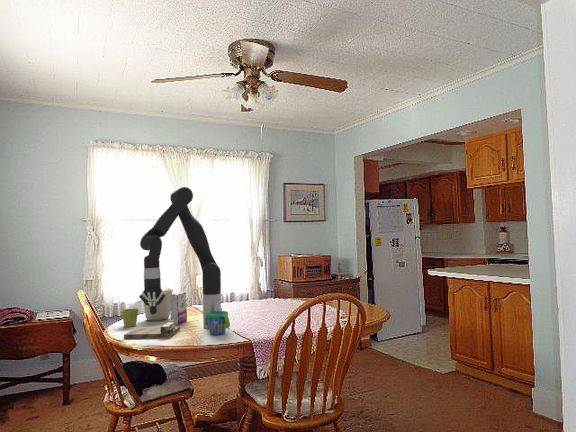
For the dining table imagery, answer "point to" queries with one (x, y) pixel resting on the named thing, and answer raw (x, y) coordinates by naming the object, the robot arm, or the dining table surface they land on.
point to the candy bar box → (178, 307)
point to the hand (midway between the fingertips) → (153, 314)
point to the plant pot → (129, 317)
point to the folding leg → (167, 327)
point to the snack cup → (217, 322)
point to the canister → (160, 307)
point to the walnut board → (150, 333)
